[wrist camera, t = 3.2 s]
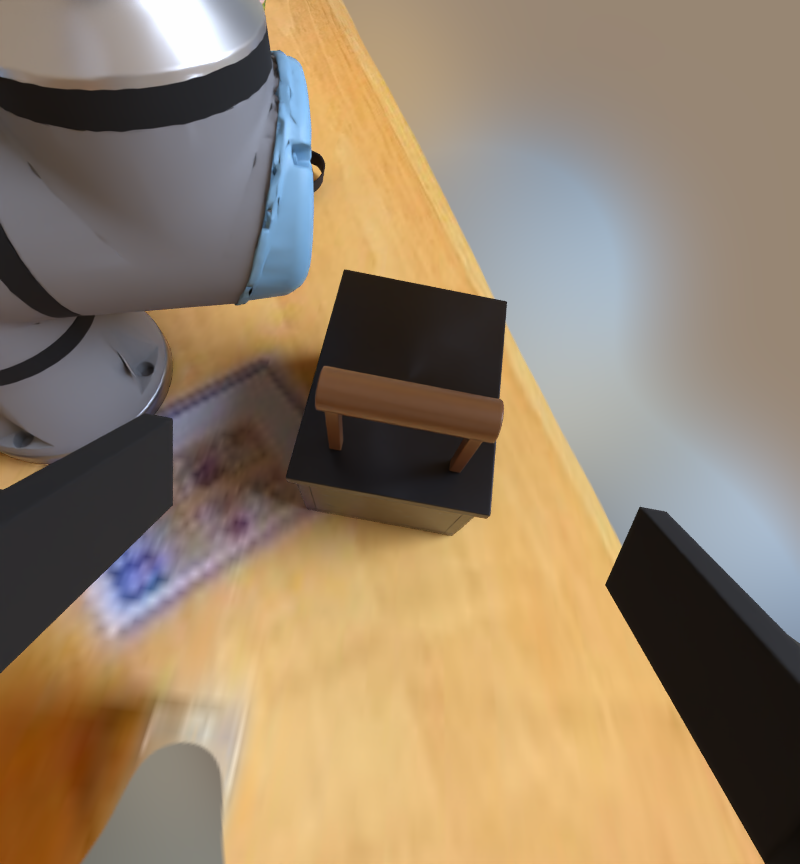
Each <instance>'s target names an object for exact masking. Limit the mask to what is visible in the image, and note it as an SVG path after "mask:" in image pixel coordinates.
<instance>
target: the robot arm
mask: <svg viewBox="0 0 800 864" xmlns="http://www.w3.org/2000/svg"><path fill="white" fill-rule="evenodd" d="M311 157H312V154H311V119H310V108H309V99H308V91H307V85H306V80H305V76H304V73H303V69H302V66H301V65H300V63H299V62H298V61H297V60H296V59H294V58H292V57H290V56H286V55H285V54H284V53H283V52H282V51H280V50H277V51H270V45H269V38H268V31H267V24H266V17H265V12H264V8H263V6H262V4H261V2H260V1H259V0H0V452H2V453H4V454H6V455H8V456H10V457H13V458H16V459H19V460H22V461H27V462H32V463H40V464H50V465H48V466H46V467H45V468H43V469H41V470H39V471H37V472H35V473H33V474H32V475H30V476H28V477H26V478H24V479H22V480H21V481H19V482H17V483H15V484H13V485H11V486H10V487H8V488H6V489H4V490H2V489H0V673H1V672H2V671H3V670H4V669H5V668H6V667H7V666H8V665H9V664H10V663H11V662H12V661H13V660H15V659H16V658H17V657H18V656H19V655H20V654H21V653H22V652H23V651H24V650H25V649H26V648H27V647H28V646H29V645H30V644H31V643H32V642H33V641H34V640H35V639H36V638H37V637H38V636H39V635H40V634H41V633H42V632H43V631H44V630H45V629H46V628H47V627H48V626H49V625H50V624H51V623H52V622H53V621H55V620H56V619H57V618H58V617H59V616H60V615H61V614H62V613H63V612H64V611H65V610H66V609H67V608H68V607H69V606H70V605H71V604H72V603H73V602H74V601H75V600H76V599H77V598H78V597H79V596H80V595H81V594H82V593H83V592H84V591H85V590H86V589H87V588H88V587H89V586H90V585H91V584H92V583H93V582H95V581H96V580H97V579H98V578H99V577H100V576H101V575H102V574H103V573H104V572H105V571H106V570H107V569H108V568H109V567H110V566H111V565H112V564H113V563H114V562H115V561H116V560H117V559H118V558H119V557H120V556H121V555H122V554H123V553H124V552H125V551H126V550H127V549H128V548H129V547H130V546H131V545H132V544H133V543H134V542H136V541H137V540H138V539H139V538H140V537H141V536H142V535H143V534H144V533H145V532H146V531H147V530H148V529H149V528H150V527H151V526H152V525H153V524H154V523H155V522H156V521H157V520H158V519H159V518H160V517H161V516H162V515H163V514H164V513H165V512H166V511H167V510H168V509H169V508H170V507H171V506H172V505H173V419H172V418H167V417H162V416H157V415H154V414H155V413H156V412H157V410H158V409H159V407H160V406H161V404H162V403H163V401H164V399H165V397H166V395H167V392H168V390H169V387H170V383H171V379H172V372H173V361H172V354H171V350H170V347H169V345H168V342H167V340H166V338H165V337H164V335H163V333H162V332H161V330H160V329H159V327H158V326H157V324H156V323H155V322H154V320H153V319H152V318H151V317H150V316H149V315H148V314H147V313H146V312H145V311H150V310H162V309H174V308H187V307H199V306H211V305H223V304H235V305H241V304H245V303H247V302H248V301H249V300H255V299H262V298H269V297H276V296H283V295H287V294H289V293H291V292H293V291H294V290H295V289H297V288H298V287H300V286H301V285H302V284H303V282H304V281H305V279H306V277H307V274H308V271H309V267H310V262H311V254H312V242H313V215H314V189H313V170H312V165H311V162H310V160H311ZM605 585H606V587H607V589H608V591H609V592H610V594H611V596H612V598H613V599H614V601H615V603H616V605H617V606H618V608H619V610H620V612H621V613H622V615H623V617H624V619H625V620H626V622H627V624H628V625H629V627H630V629H631V631H632V632H633V634H634V636H635V638H636V639H637V641H638V643H639V645H640V646H641V648H642V650H643V652H644V653H645V655H646V657H647V659H648V660H649V662H650V664H651V666H652V667H653V669H654V671H655V673H656V674H657V676H658V678H659V680H660V681H661V683H662V685H663V687H664V688H665V690H666V692H667V693H668V695H669V697H670V699H671V700H672V702H673V704H674V706H675V707H676V709H677V711H678V713H679V714H680V716H681V718H682V720H683V721H684V723H685V725H686V727H687V728H688V730H689V732H690V734H691V735H692V737H693V739H694V741H695V742H696V744H697V746H698V748H699V749H700V751H701V753H702V754H703V756H704V758H705V760H706V761H707V763H708V765H709V767H710V768H711V770H712V772H713V774H714V775H715V777H716V779H717V781H718V782H719V784H720V786H721V788H722V789H723V791H724V793H725V795H726V796H727V798H728V800H729V802H730V803H731V805H732V807H733V809H734V810H735V812H736V814H737V816H738V817H739V819H740V821H741V822H742V824H743V826H744V828H745V829H746V831H747V833H748V835H749V836H750V838H751V840H752V842H753V843H754V845H755V847H756V849H757V850H758V852H759V854H760V856H761V857H762V859H763V861H764V863H765V864H800V643H798V642H797V641H795V640H794V639H793V638H791V637H790V636H789V635H787V634H786V633H785V632H784V631H783V630H782V629H781V628H780V627H779V626H778V624H777V623H776V622H774V621H773V620H772V618H770V617H769V615H767V614H766V612H765V611H764V610H763V609H762V608H761V607H760V606H759V605H758V604H757V603H756V602H755V601H754V600H753V599H752V598H751V597H750V596H749V595H748V594H747V593H746V592H745V591H744V590H743V589H742V588H741V587H740V586H739V585H738V584H737V583H736V582H735V581H734V580H733V579H732V578H731V577H730V576H729V575H728V574H727V573H726V572H725V571H724V570H723V569H722V568H721V567H720V566H719V565H718V564H717V563H716V562H715V561H714V560H713V559H712V558H711V557H710V556H709V555H708V554H707V553H706V552H705V551H704V550H703V549H702V548H701V547H700V546H699V545H698V544H697V542H696V541H695V540H694V539H693V538H692V537H690V536H689V534H688V533H687V532H686V531H685V530H683V528H682V527H681V526H680V525H679V524H678V523H677V522H676V521H675V520H674V519H673V518H672V517H671V516H670V515H669V514H668V513H667V512H664V511H659V510H654V509H648V508H643V507H639V510H638V512H637V514H636V517H635V519H634V521H633V523H632V526H631V528H630V530H629V532H628V535H627V537H626V539H625V541H624V544H623V546H622V548H621V550H620V553H619V555H618V557H617V559H616V562H615V564H614V566H613V568H612V571H611V573H610V575H609V577H608V580H607V582H606V584H605Z"/></svg>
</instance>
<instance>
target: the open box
mask: <svg viewBox="0 0 800 864" xmlns="http://www.w3.org/2000/svg"><path fill="white" fill-rule="evenodd" d="M297 485H298V487H299V490H300V492H301V495H302V497H303V500H304V503H305V505H306V507H307V509H309V510H314V511H320V512H325V513H331V514H336V515H341V516H347V517H352V518H358V519H363V520H369V521H374V522H380V523H385V524H391V525H396V526H402V527H407V528H412V529H418V530H423V531H429V532H434V533H440V534H445V535H451V536H453V535H454V534H455V533H456V532H457V531H459V530H460V529H461V528H462V527H463V526H464V525H466V524H467V523H468V522H469V521H470V520H471V519H472V518H474V516H469V515H464V514H458V513H453V512H447V511H442V510H437V509H431V508H426V507H420V506H415V505H409V504H404V503H399V502H393V501H388V500H382V499H377V498H372V497H366V496H361V495H355V494H350V493H344V492H339V491H334V490H328V489H323V488H317V487H312V486H306V485H301V484H297Z"/></svg>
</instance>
